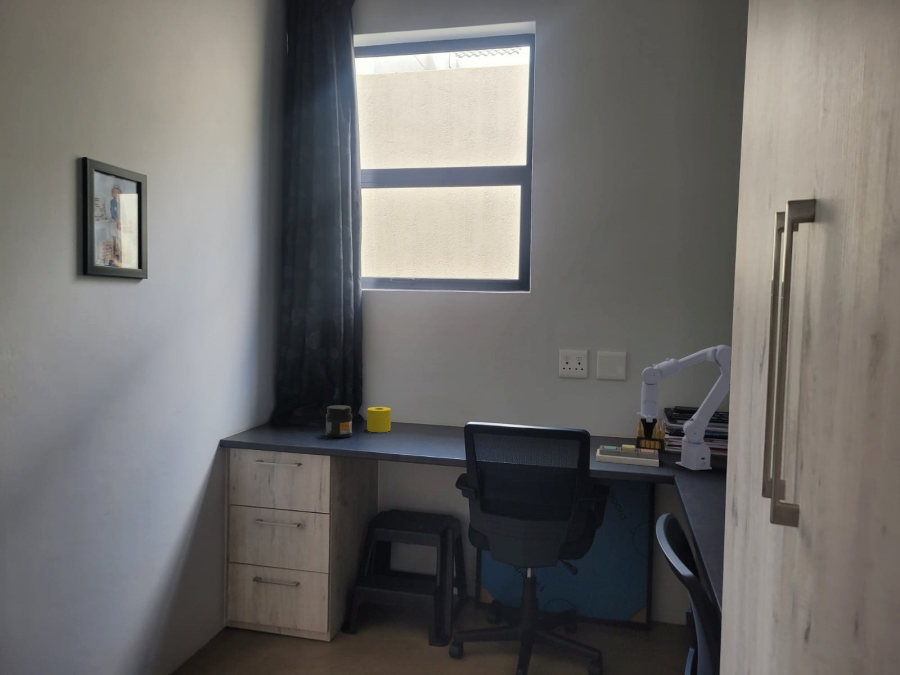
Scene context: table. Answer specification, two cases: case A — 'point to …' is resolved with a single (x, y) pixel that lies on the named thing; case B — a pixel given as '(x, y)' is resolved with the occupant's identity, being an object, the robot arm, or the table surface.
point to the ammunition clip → (656, 442)
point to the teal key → (609, 448)
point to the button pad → (627, 457)
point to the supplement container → (338, 421)
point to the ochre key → (628, 448)
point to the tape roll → (379, 419)
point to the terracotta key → (647, 451)
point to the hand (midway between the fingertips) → (648, 438)
